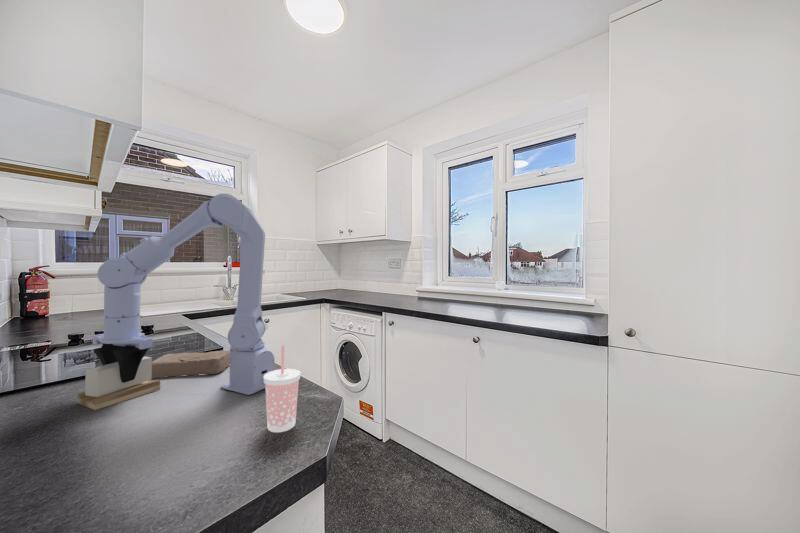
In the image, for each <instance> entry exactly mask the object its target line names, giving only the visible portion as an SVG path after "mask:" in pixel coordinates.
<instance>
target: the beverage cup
mask: <svg viewBox="0 0 800 533" xmlns="http://www.w3.org/2000/svg"><path fill="white" fill-rule="evenodd" d="M280 352H281V353H280V355H281V356H280V368H279V369H274V371H270V372H268V373H266V374H265V375H264V376H263V378H264V383H265V388H264V390H265V402H266V403H265V405H266V406H265V408H266V425H267V426H266V429H267V430H268V431H269V432H271V433H283V432H288V431H289V430H291V429H292V428H294V427H295V426H296V420H297V419H296V418H297V410H298V409H297V407H298V395H299V394H298V392H299V382H300V381H299V380H300V378H301V374H302V373H301V371H300V370H299V369H295V368H285V344H284V345H281V351H280Z"/></svg>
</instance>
